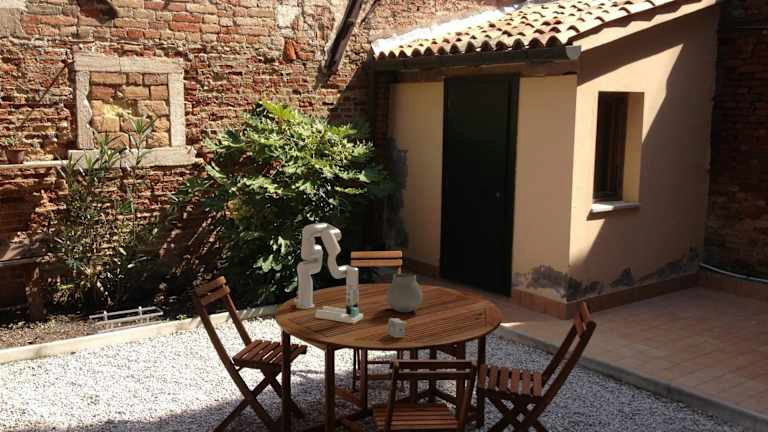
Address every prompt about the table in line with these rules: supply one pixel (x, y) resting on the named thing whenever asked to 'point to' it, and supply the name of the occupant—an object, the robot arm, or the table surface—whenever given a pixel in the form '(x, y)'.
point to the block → (354, 312)
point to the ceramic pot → (404, 293)
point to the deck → (336, 315)
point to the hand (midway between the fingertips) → (351, 312)
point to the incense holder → (396, 328)
